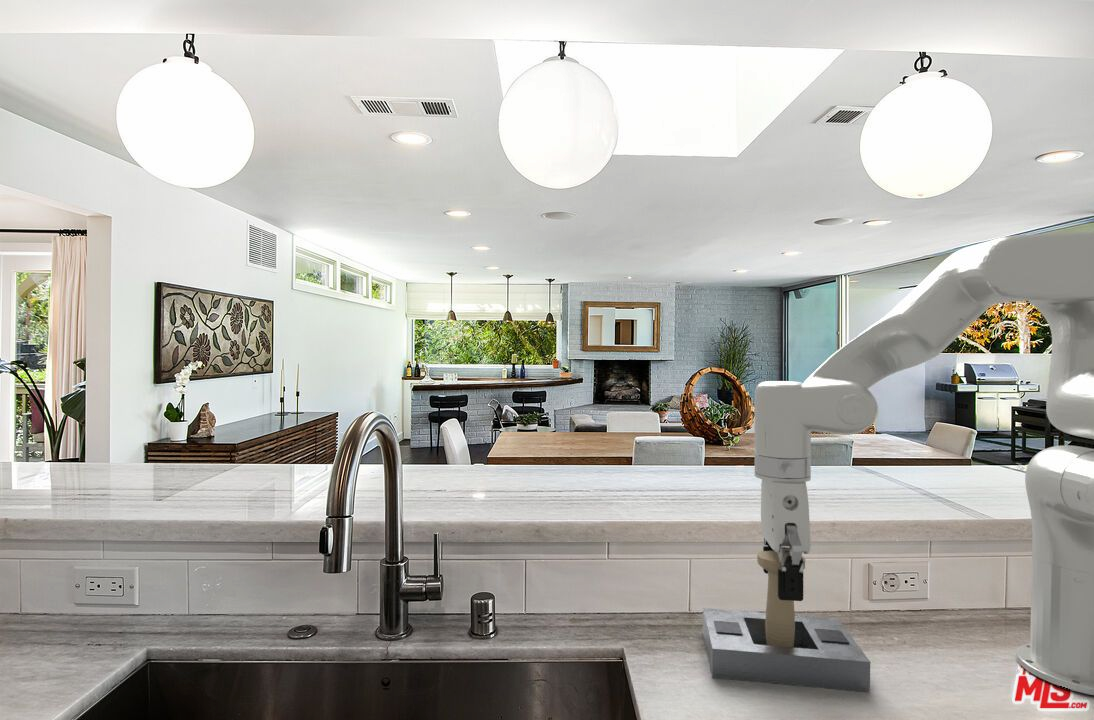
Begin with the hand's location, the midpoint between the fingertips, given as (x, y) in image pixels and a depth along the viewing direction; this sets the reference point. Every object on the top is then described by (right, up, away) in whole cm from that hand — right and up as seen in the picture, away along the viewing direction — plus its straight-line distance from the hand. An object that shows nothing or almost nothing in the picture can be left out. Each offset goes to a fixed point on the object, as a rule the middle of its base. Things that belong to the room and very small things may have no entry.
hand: (782, 585), depth 86 cm
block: (-1, -11, 0) cm, 11 cm away
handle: (0, -11, 0) cm, 11 cm away
